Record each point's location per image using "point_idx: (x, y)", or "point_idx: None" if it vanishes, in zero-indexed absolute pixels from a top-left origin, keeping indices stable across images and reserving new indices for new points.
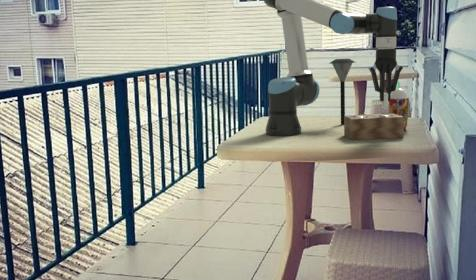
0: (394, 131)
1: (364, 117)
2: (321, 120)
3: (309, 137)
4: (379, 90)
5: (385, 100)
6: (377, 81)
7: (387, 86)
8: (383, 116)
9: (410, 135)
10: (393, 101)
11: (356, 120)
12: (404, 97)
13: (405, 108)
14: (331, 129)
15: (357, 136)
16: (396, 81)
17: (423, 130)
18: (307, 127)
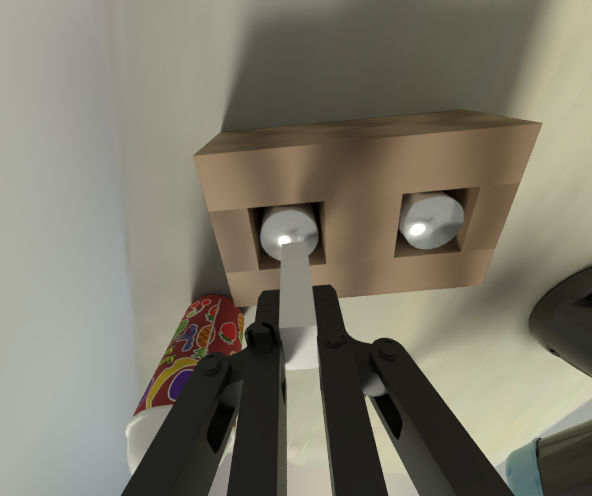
0: (261, 133)
1: (421, 203)
2: (383, 444)
3: (572, 216)
4: (373, 349)
5: (300, 281)
6: (449, 468)
7: (281, 406)
8: (308, 216)
9: (184, 187)
10: None
11: (505, 123)
12: (150, 415)
13: (167, 362)
14: (418, 343)
15: (444, 113)
16: (148, 478)
17: (130, 285)
18: (463, 377)
